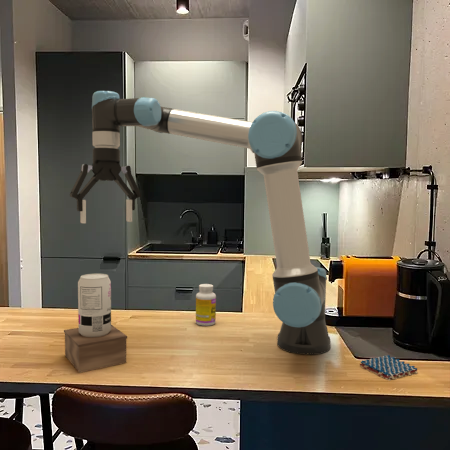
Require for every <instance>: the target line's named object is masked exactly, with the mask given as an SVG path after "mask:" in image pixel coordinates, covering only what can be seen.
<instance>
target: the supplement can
mask: <svg viewBox="0 0 450 450" xmlns="http://www.w3.org/2000/svg"><path fill="white" fill-rule="evenodd" d="M111 285H112V281H111V279H110V277H109V274H106V273H87V274H82V275H81V276H80V278H79V279H78V281H77V299H78V300H77V301H78V303H77V304H78V307H77V312H78V319H77V320H78V328H79V333H80V334H81V335H82V336H85V337H100V336H104V335H106V334H108V333H109V332H110V331H111V325H112V286H111Z"/></svg>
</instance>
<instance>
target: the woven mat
mask: <svg viewBox="0 0 450 450" xmlns="http://www.w3.org/2000/svg"><path fill="white" fill-rule="evenodd" d="M359 367H361V368H362V369H365V370H367V371H369V372H370V373H373V374H375V375H377V376H378V377H381V378H383V379H384V380H387V381H392V380H398V379H400V378H403V377H407V376H414V375H417V374H418V367H416V366H415V365H410V363H405V361H401V359H399V358H397V359H396V357H395V356H391V355H389V354H387V355H383V356H378V357H372V358H369V359H365V360H361V361H360V363H359Z"/></svg>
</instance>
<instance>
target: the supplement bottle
mask: <svg viewBox="0 0 450 450" xmlns="http://www.w3.org/2000/svg"><path fill="white" fill-rule="evenodd" d="M198 290H199V292H196V293H195V323H196V325H197V326H202V327H204V326H205V327H206V326H207V327H210V326H213V325H215V324H216V319H217V317H216V316H217V312H216V311H217V310H216V307H217V306H216V305H217V295H216V293H214V292H213V290H214V285H213V284H209V283H201V284H199V285H198Z"/></svg>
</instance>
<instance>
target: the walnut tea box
mask: <svg viewBox="0 0 450 450" xmlns="http://www.w3.org/2000/svg"><path fill="white" fill-rule="evenodd" d="M63 333H64V356H65V358H66V359H67V360H68V361H69V363H71V364H72V366H73V367H74V368H75V370H76V371H77V372H79V373H85V372H88V371H93V370H98V369H103V368H108V367H112V366H118V365H121V364H126V363H127V340H128V336H127V334H125V333H124V332H123V331H121V330H119V328H117V327H116V326H114V325H113V324H111V331H110V332H109V333H108V334H106V335H104V336H100V337H85V336H82V335H81V334H80V333H79V327H75V328H74V327H73V328H69V329H64V330H63Z"/></svg>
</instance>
